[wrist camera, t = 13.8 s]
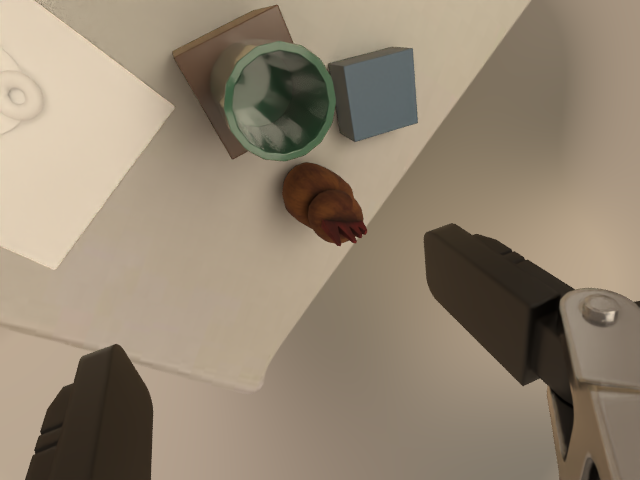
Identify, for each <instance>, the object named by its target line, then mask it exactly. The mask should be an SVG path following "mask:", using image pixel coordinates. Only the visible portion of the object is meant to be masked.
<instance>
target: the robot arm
mask: <svg viewBox="0 0 640 480" xmlns="http://www.w3.org/2000/svg"><path fill="white" fill-rule="evenodd" d="M424 249H425V264H426V278H427V283H428V286H429V289H430V291H431V293H432V295H433V296H434V298H435V299H436V300H437V301H438V302H439V303H440V304H441V305H442V306H443V307H444V308H445V309H446V310H447V311H448V312H449V313H450V314H451V315H452V316H453V317H454V318H455V319H456V320H457V321H458V322H459V323H460V324H461V325H462V326H463V327H464V328H465V329H466V330H467V331H468V332H469V333H470V334H471V335H472V336H473V337H474V338H475V339H476V340H477V341H478V342H479V343H480V344H481V345H482V346H483V347H484V348H485V349H486V350H487V351H488V352H489V353H490V354H491V355H492V356H493V357H494V358H495V359H496V360H497V361H498V362H499V363H500V364H502V366H503V367H504V368H505V369H506V370H507V371H508V372H509V373H510V374H511V375H512V376H513V377H514V378H515V379H516V380H517V381H518V382H519V383H520V384H521V385H522V386H524V385H526V384H529V383H531V382H533V381H535V380H537V379H539V378H541V379H542V380H543V381H544V382H545V383H546V384H547V385H548V387H547V399H548V406H549V412H550V417H551V425H552V430H553V437H554V444H555V450H556V456H557V463H558V469H559V480H640V301H637V302H633V301H632V300H630V299H628V298H627V297H625V296H623V295H620V294H618V293H615V292H612V291H608V290H603V289H598V288H597V289H596V288H582V289H576V290H575V289H573V288H572V287H570V286H568V285H567V284H565V283H564V282H562V281H561V280H559V279H558V278H556V277H554V276H553V275H551V274H550V273H548V272H546V271H545V270H543V269H542V268H540V267H539V266H537V265H535V264H534V263H532V262H530V261H529V260H525V259H524V257H523V256H521V255H520V254H518V253H516V252H512V250H511V249H510V248H508V247H507V246H505V245H504V244H502V243H500V242H499V241H497V240H495V239H492V238H489V237H485V236H482V235H479V234H475V235H471V234H470V233H468V232H467V231H465V230H464V229H462V228H461V227H459V226H457V225H456V224H453V223H451V224H448V225H445V226H442V227H440V228H437V229H434V230H432V231H429V232H426V233H425V235H424ZM152 427H153V405H152V400H151V397H150V394H149V391H148V389H147V387H146V385H145V383H144V382H143V380H142V379H141V377H140V375H139V374H138V372H137V370H136V369H135V367H134V366H133V364H132V362H131V361H130V359H129V358H128V356H127V354H126V353H125V351H124V350H123V348H122V347H121V346H120V345H118V344H115V345H112V346H109V347H107V348H104V349H101V350H98V351H96V352H93V353H90V354H87V355H85V356H82V357H81V359H80V361H79V364H78V368H77V372H76V375H75V379H74V383H73V384H70V385H67V386H65V387H63V388H62V390H61V391H60V392H59V394H58V395H57V396H56V398H55V399H54V401H53V402H52V403H51V405H50V406H49V408H48V409H47V412H46V415H45V418H44V421H43V425H42V428H41V431H40V432H41V435H40V436H39V437H38V440H37V443H36V447H35V450H34V451H35V455H33V456H32V459H31V462H30V466H29V469H28V472H27V475H26V479H25V480H151V459H152V458H151V457H152V429H153V428H152Z"/></svg>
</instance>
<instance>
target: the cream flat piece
mask: <svg viewBox="0 0 640 480" xmlns="http://www.w3.org/2000/svg"><path fill="white" fill-rule="evenodd" d="M44 105H45V98H44V94H43V91H42V89H41V87H40V86H39V85H38V83H37V82H36V81H35V80H34V79H33V78H31V77H30V76H29V75H27V74H26V73H23V71H22V69H21V68H20V66H19V65H18V63H17V62H16V61H15V60H14V58H13V57H12V56H11V55H10V54H9V53H8V52H7V51H6V50H5V49H4V48H2V47H1V46H0V136H2V135H4V134H7V133H9V132H10V131H12V130H13V129H15V128H16V127H17V126H18V125H19V124H20V123H21V122H22V121H30V120H33V119H35V118H36V117H37V116H38V115H39V114H40V113H41V112H42V111H43V109H44Z"/></svg>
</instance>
